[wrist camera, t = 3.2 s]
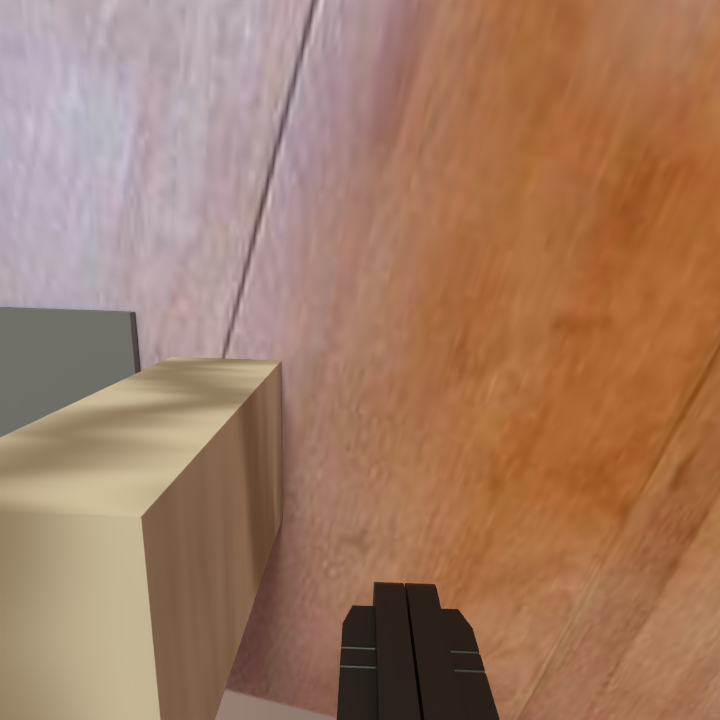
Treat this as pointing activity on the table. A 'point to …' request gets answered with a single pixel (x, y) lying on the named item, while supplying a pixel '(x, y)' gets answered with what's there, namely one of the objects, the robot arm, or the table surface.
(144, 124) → the table surface
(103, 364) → the mat
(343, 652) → the robot arm
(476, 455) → the table surface
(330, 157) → the table surface
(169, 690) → the ash block
